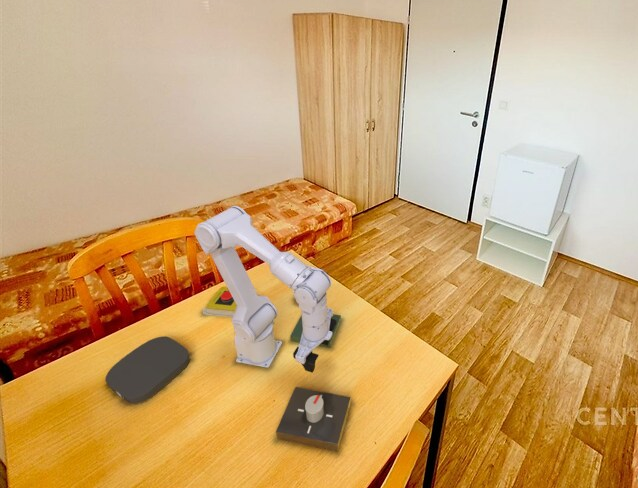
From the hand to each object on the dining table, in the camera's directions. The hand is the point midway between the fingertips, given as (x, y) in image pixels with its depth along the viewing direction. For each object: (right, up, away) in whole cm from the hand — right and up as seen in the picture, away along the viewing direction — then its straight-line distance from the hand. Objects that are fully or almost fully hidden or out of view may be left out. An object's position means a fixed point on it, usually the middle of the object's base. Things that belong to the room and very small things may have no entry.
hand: (317, 356), depth 79 cm
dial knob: (+1, -10, -6) cm, 12 cm away
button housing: (-5, -1, +17) cm, 18 cm away
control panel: (+1, -12, -5) cm, 13 cm away
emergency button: (-34, +4, +24) cm, 41 cm away
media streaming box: (-44, -5, +3) cm, 44 cm away
